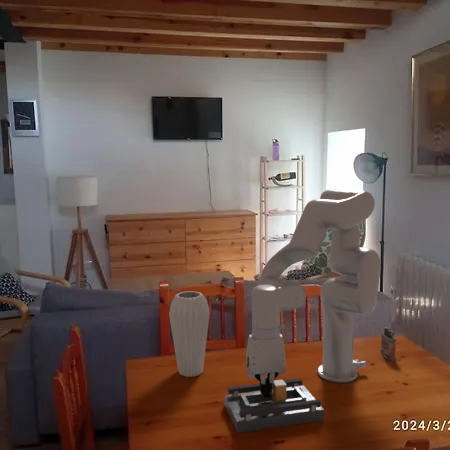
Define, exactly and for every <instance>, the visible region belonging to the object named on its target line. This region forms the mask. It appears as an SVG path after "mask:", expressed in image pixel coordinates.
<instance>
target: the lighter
mask: <svg viewBox="0 0 450 450" xmlns="http://www.w3.org/2000/svg"><path fill="white" fill-rule="evenodd" d="M380 335H381V340H380V341H381V342H380V343H381V345H380V353H381V355H382V356H383V357H384V358H385V359H387V360H389V361H395V360H396V343H397V338H396V336H395V332H394V330H392V328H391V327H388V326H384V327H383V331H381V333H380Z"/></svg>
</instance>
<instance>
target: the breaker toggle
mask: <svg viewBox="0 0 450 450" xmlns="http://www.w3.org/2000/svg"><path fill="white" fill-rule="evenodd" d="M286 388H287V387H286V383H285V382H284V380H283V379H277V380H274V382H273V383H272V399H273V400H274V401H279V400H286Z"/></svg>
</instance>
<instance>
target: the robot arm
mask: <svg viewBox="0 0 450 450" xmlns="http://www.w3.org/2000/svg"><path fill="white" fill-rule="evenodd" d="M375 207H376V201H375V198H374V196H373V195H372V193H370V192H369V191H367V190H363V189H362V190H361V189H343V188H342V189H341V188H340V189H339V188H337V189H336V188H334V189H327V190H324V191H323V192H322V193H321V194H320V198H318V199H317V198H316V199H312V200H310V201H308V202H307V203H306V204H305V206H304V209H303V211H302V212H301V213H302V214H301V215H300V218H299V220H298V223H297V224H296V227H295V229H294V232H293V234H292V237H291V238H290V241H289V243H288V244H286V245H285V246H283V247H282V248H281V249H279V250H278V251H277V252H276V253H275V254H274V255H272V256H271V257H270V258H269V260H268V261H267V262H266V263H265V266H264V268H263V269H262V272H261V274H260V277H259V280H258V282H257V285H256V286H254V287H253V288H252V290H251V334H249V336H248V340H247V345H246V346H247V347H246V357H245V358H246V359H245V365H246V368H247V371H246V376H247V377H248V378H250V379H256V380H257V381H258V382H259V384H260V392H261V394H263V396H264V397H265V398H267V397H271V393H272V383H273V382H274V381H275V379H276V378H278V376H280V375H281V376H282V375H283V374H285V373H286V369H285V368H286V352H285V351H286V350H285V344H284V338H283V335H282V332H283V331H285V330H286V327H285V324H281V312H282V311H293V310H297V309H299V308H300V307H302V306H303V305H304V303H305V302H306V298H307V292H306V288H305V287H304V286H303V285H301V284H300V283H298V282H295V281H291V280H287V279H283V278H281V277H282V275H283V273H284V272H285V271H286V270H287V269H288V268H290V267H291V266H293V265H295V264H297V263H300V262H303V261H306V260H309V259H312V258H314V257H316V256H317V255H318V254H319V251H320V249H321V246H322V243H323V242H324V239H325V236H326V234H327V232H328V230H331V242H330V249H329V260H328V262H329V263H328V264H329V269H330V271H331V272H333V273H335V274H338V275H341V276H345V277H352V278H356V279H357V281H352V280H348V279H343V278H337V277H332V278H329V279H326V280H325V281H324V282H323V283H322V285H321V287H320V300H321V306H322V313H323V324H322V325H323V326H322V332H323V333H322V364H321V365H319V366H318V367H317V374H318V375H319V377H321V379H324V380H326V381H330V382H333V383H350V382H353V381H355V380H356V379H357V378H358V375H359V374H358V370H359V368H360V369H361V368H367V367H368V364H367V361H366V360H365V361H364V360H363V361H360V360H359V359H358V358H357V359H354V340H355V339H354V336H355V335H354V334H355V323H354V318H353V315H352V314H355V315H359V316H368V315H371V314H372V313H373V312H374V310H375V308H376V305H377V302H378V294H379V285H380V279H381V277H380V276H381V265H382V264H381V258H380V255H379V253H378V252H377V251H376V250H374V249H372V248H369V247H361V246H360V234H361V231H360V227H359V224H360V223H362V222H364V221H365V220H367V219H368V218H369V217H371V215H372V214H373V212H374V209H375ZM265 376H266V377H265Z"/></svg>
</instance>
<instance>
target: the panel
mask: <svg viewBox="0 0 450 450" xmlns="http://www.w3.org/2000/svg"><path fill="white" fill-rule="evenodd" d="M310 400H317V399H316V398H315V397H314V395H312V394H311V392H310V391H309V390H308V389H307V388H306V387H305V385H303V384H302V385H299V386H295V387H294V388H293V387H286V400H279V401H274V400H273V399H272V393H271V397H267V398H265V397H264V396H263V394H261V392H260V391H252V392H244V393H238V397H234V396H233V394H226V395H224V407H225V409H226V411H227V413H228V416H229V417H230V420H231V421H232V424H233V426H234V429H235V431H236V433H237V434H238V433H243V432H245V433H246V432H252V431H258V430H265V429H271V428H278V427H285V426H292V425H298V424H299V425H300V424H305V423H306V424H307V423H313V422H319V421H325V409H324V407H323V406H322V405H321V407H316V411H313V412H312V411H311V410H310V409H301V410H294V411H287V412H280V413H273V414H266V415H259V416H251V420H249V421H246V419H245V417H244V418H241V417H240V415H239V410H243V409H251V408H258V407H266V406H273V405H280V404H288V403H295V402H302V401H310Z"/></svg>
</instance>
